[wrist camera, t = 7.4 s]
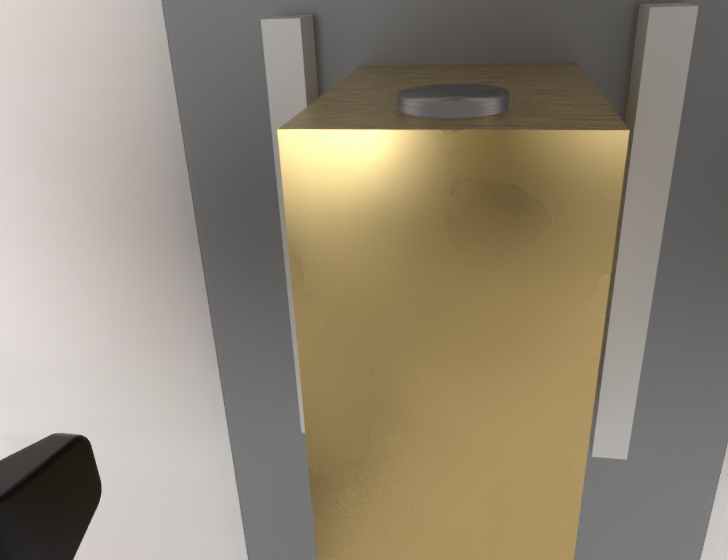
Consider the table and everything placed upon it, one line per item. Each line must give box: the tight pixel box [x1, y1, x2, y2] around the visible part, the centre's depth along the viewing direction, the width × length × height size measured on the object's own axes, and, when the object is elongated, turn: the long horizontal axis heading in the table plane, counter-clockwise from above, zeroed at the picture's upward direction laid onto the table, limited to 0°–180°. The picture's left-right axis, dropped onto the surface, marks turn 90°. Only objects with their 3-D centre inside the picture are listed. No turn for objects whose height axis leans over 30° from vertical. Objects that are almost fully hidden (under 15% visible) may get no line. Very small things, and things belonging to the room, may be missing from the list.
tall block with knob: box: [277, 63, 630, 560], centre depth 13 cm, size 8×4×6 cm, turn 2°
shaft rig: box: [162, 0, 728, 560], centre depth 14 cm, size 28×13×4 cm, turn 3°
